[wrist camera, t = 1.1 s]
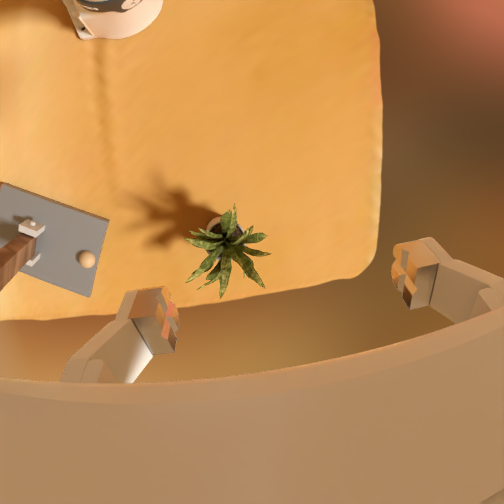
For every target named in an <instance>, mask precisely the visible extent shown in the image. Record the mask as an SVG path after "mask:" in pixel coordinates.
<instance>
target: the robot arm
mask: <svg viewBox="0 0 504 504" xmlns="http://www.w3.org/2000/svg"><path fill="white" fill-rule="evenodd" d="M62 1H63V3H64V5H65V6H66V8H67V10H68V13H69V15H70V17H71V20H72V22H73V24H74V26H75V28H76V31H77V33H78V35H79V37H80V39H82V40H89V39H93V38H106V39H120V38H125V37H129V36H132V35H134V34H136V33H138V32H140V31H142V30H143V29H145V28H146V27H147V26H149V25H150V24H151V23H152V22H153V21H154V20H155V18H156V17H157V16H158V14H159V12H160V10H161V8H162V4H163V0H62ZM83 28H85V30H83V31H82V29H83ZM393 256H394V257H395V258H396V261H395V262H394V263H393V265H392V280H393V282H394V285H395V287H396V288H397V290H399V291H401V292H403V295H402V298H403V300H404V301H405V303H406V305H407V307H408V308H409V310H411V309H415V308H419V307H423V306H427V305H429V306H430V307H432V308H433V309H435V310H437V311H438V312H439V313H441V314H442V315H444V316H445V317H447V318H448V319H450V320H452V321H453V322H454V323H456V324H455V325H452V326H450V327H447V328H444V329H441V330H438V331H435V332H432V333H429V334H426V335H422V336H419V337H416V338H413V339H409V340H406V341H403V342H399V343H396V344H392V345H388V346H384V347H381V348H377V349H373V350H369V351H365V352H361V353H357V354H352V355H348V356H344V357H339V358H335V359H330V360H325V361H320V362H315V363H311V364H306V365H300V366H295V367H289V368H283V369H277V370H271V371H264V372H257V373H251V374H243V375H235V376H227V377H219V378H208V379H197V380H185V381H170V382H151V383H133V382H134V381H135V379H136V378H137V377H138V375H139V374H140V373H141V371H142V370H143V369H144V367H145V366H146V365H147V363H148V362H149V361H150V359H151V358H152V357H153V355H158V354H167V353H174V352H175V346H176V340H177V338H176V336H175V334H174V333H175V332H176V331H177V330H178V328H179V315H178V311H177V308H176V306H175V304H174V303H172V302H171V301H170V296H171V294H170V292H169V290H168V288H167V287H166V286H159V287H152V288H145V289H137V290H131V291H128V292H126V293H125V296H124V298H123V301H122V303H121V306H120V308H119V311H118V313H117V316H116V318H115V321H111V322H110V323H109V324H107V325H106V326H105V327H104V328H103V329H102V330H101V331H99V332H98V333H97V334H96V335H95V336H94V337H93V338H92V339H91V340H90V341H88V342H87V343H86V344H85V345H84V346H83V347H82V348H80V349H79V350H78V351H77V352H76V353H75V354H74V355H73V356H72V357H70V358H69V360H68V362H67V365H66V367H65V369H64V372H63V374H62V377H61V380H60V382H49V381H35V380H24V379H15V378H7V377H0V504H504V279H503V278H501V277H498V276H496V275H494V274H491V273H489V272H487V271H485V270H482V269H479V268H477V267H475V266H472V265H470V264H467V263H465V262H462V261H460V260H457V259H455V260H453V259H452V258H451V257H450V256H449V255H448V254H447V252H446V251H445V250H444V249H443V248H442V247H441V246H440V245H439V244H438V243H437V242H436V241H435V240H434V239H433V238H431V237H427V238H423V239H419V240H416V241H411V242H407V243H402V244H397V245H395V247H394V250H393Z"/></svg>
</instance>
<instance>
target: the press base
mask: <svg viewBox="0 0 504 504" xmlns="http://www.w3.org/2000/svg"><path fill="white" fill-rule="evenodd" d="M108 224H109V219H106V218H103V217H100V216H97V215H94V214H91V213H89V212H86V211H83V210H80V209H77V208H74V207H72V206H69V205H66V204H63V203H60V202H57V201H55V200H52V199H49V198H46V197H44V196H41V195H38V194H35V193H32V192H30V191H27V190H24V189H21V188H19V187H16V186H13V185H10V184H8V183H2V184H1V188H0V249H1V248H2V247H3V246H5V245H6V244H7V243H8V242H10V241H11V240H12V239H13V238H15V237H16V236H17V235H19V234H20V233H21V232H22V233H25V234H27V235H30V236H33V237H35V238H36V237H37V242H36V249H35V255H34V256H33V257H32V258H31V259H30V260H29V261H28V262H27V263H26V264H25V265H24V266H23V267H22V268H21V269H20V270H19V271H20V272H23V273H25V274H28V275H30V276H33V277H35V278H38V279H40V280H43V281H45V282H48V283H51V284H53V285H56V286H59V287H61V288H64V289H67V290H69V291H72V292H75V293H78V294H81V295H83V296H86V297H89V298H90V295H91V292H92V287H93V283H94V278H95V274H96V269H97V265H98V261H99V257H100V253H101V249H102V245H103V242H104V238H105V234H106V231H107V227H108Z"/></svg>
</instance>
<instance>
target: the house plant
mask: <svg viewBox="0 0 504 504" xmlns="http://www.w3.org/2000/svg"><path fill="white" fill-rule="evenodd" d="M198 229H199V230H200V231H201V232H203V233H204V234H202V233H196V232H194V231H190V230H188V231H189V232H190V233H191V234H193V235H194V236H196V237H197V238H194V239H186V240H187V241H189V242H190V243H192V245H194V246H196V247H200V248H203V249H206V251H207V253H208V254H209V256H208V257H207V258H206V259H205V260H204V261H203V262H202V264H201V266H200V267H199V268H198V269H197V270H196V271H194V272H193V273H192V274H193V275H192V276H191V277H190V278H189V279H188V280H187V281H186V283H187V282H189V281H191V280H193V279H195V278H196V277H198V276H199V275H201V274H202V273H203V272H206V271H208V270H209V269H210V268H211V267H212V266H213V264H214V262H215V261H216V259H217V260H219V262H218V264H217V265H216V266H215V268H214V269H213V270H212V271H211V272H210V273H209V274H208V275H207V278H206V280H211V281H209V282H208V283H206V284H204V285H203V286H201V287H200V288H202V287H204V286H206V285H209V284H211V283H213V282H215V281H216V280H218V279H219V281H220V292H219V293H220V298H221V297H222V296H223V294H224V292H225V290H226V288H227V285H228V281H229V276H230V273H231V268H232V266H231V259H233V260H234V261H235V262H237V263H238V264H239V265H240V266H241V267H242V269H243V270H244V272H243V275H244V276H245V273H246V275H247V276H248V277H249V278H251V279H252V280H254V281H255V282H256V283H257V284H258V285H260V286H262V287H264V288H265V286H264V284H263V282H262V280H261V278H260V277H259V275H258V273H257V272H256V270H255V269H254V267H253V266H254V264H253V261H252V260H251V259H250V258H249V257H248V256H247V255H245V254H244V253H243V252H245V253H247V254H250V255H252V256H266V255H270V253H267V252H262V251H259V250H254V249H250V248H248V247H246V246H245V244H246V243H257V242H260V241H262V240H263V239H264V238H265V237H266V236H268V235H265V234H263V233H255V234H252V235H251V233H252V231H253V226H251V227H250V228H249V230H248V229H247V230H246V231H245V232H244V230H243V228H242V227H241V226H240V225H239V224H237V216H236V206H235V203H234V207H233V212H232V211H231V212H230V210H229V211H228V212H226V213H225V214H223V215H222V216H220V217H215V218H213V219H212V220H211V221H210V222H209V223H208V225H207V228H206V231H205V230H203V229H201V228H198ZM198 238H200V239H198ZM184 239H185V238H184ZM271 254H272V253H271ZM219 273H220V275H219V276H218V274H219ZM200 288H198V289H200ZM198 289H197V290H198Z"/></svg>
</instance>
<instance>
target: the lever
mask: <svg viewBox="0 0 504 504" xmlns="http://www.w3.org/2000/svg"><path fill="white" fill-rule="evenodd" d="M36 242H37V237H36V238H35V237H33V236H30V235H27V234H25V233H22V232H21V233H20V234H19V235H17V236H16V237H15V238H13V239H12V240H11V241H10V242H8V243H7V244H6V245H5V246H3V247H2V248H1V249H0V291H1V290H2V289H3V288H4V286H5V285H6V284H7V283H8V282H9V281H10V280H11V279H12V278H13V277H14V275H15V274H16V273H17V272H18V271H19V270H20V269H21V268H22V267H23V266H24V265H25V264H26V263H27V262H28V261H29V260H30V259H31V258H32V257H33V256H34V255H35V249H36Z"/></svg>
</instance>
